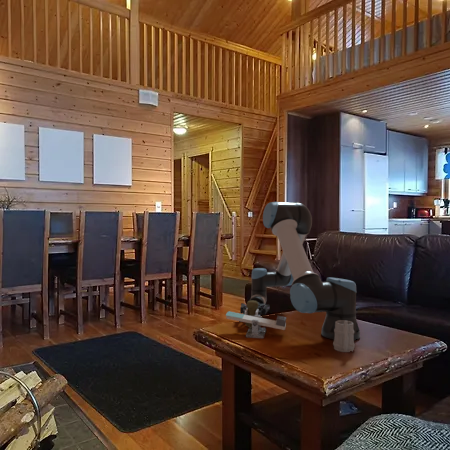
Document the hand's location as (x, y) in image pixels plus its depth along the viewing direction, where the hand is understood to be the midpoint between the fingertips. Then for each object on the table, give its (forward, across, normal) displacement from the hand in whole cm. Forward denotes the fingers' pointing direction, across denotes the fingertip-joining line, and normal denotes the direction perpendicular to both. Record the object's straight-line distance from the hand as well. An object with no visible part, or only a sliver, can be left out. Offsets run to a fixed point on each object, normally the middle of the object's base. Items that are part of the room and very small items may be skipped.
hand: (250, 314), depth 181 cm
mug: (+22, -37, -6) cm, 43 cm away
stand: (+7, -3, -6) cm, 9 cm away
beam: (+7, -3, -1) cm, 7 cm away
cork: (-5, 0, -6) cm, 8 cm away
